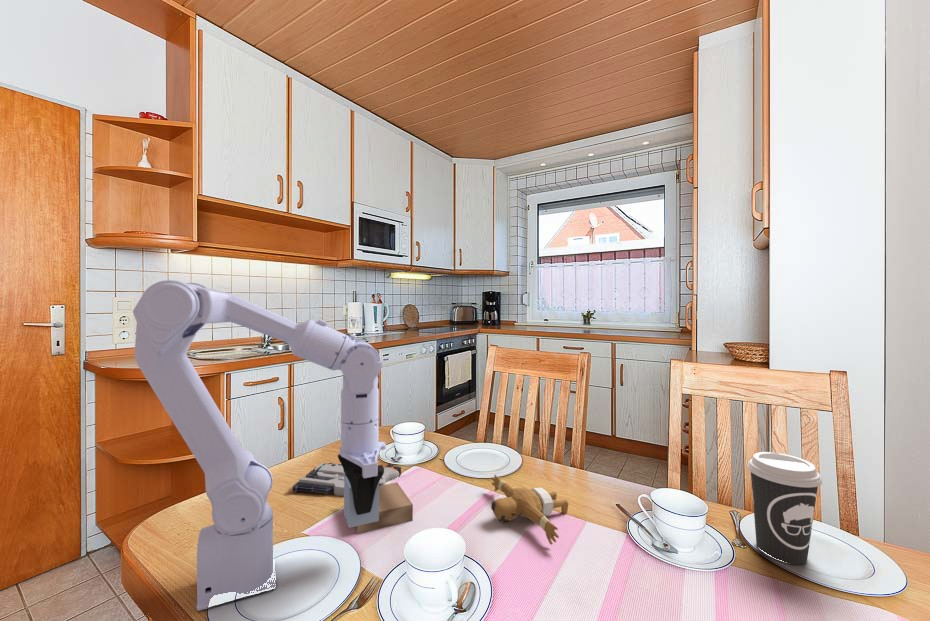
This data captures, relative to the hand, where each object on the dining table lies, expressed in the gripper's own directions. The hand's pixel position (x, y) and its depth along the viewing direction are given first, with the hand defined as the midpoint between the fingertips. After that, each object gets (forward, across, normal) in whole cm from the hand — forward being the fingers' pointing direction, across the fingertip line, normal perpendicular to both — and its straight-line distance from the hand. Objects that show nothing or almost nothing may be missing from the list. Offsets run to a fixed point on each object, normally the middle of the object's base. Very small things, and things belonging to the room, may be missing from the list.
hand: (359, 504), depth 63 cm
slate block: (+2, 0, 0) cm, 2 cm away
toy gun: (+9, +28, -4) cm, 30 cm away
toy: (+9, -1, -32) cm, 33 cm away
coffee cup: (+9, -28, -62) cm, 69 cm away
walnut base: (+9, +12, -6) cm, 16 cm away
